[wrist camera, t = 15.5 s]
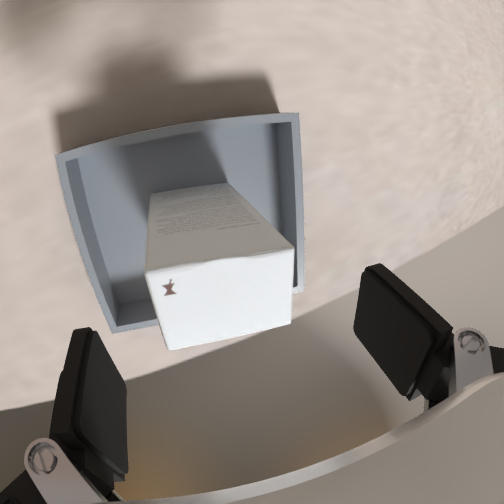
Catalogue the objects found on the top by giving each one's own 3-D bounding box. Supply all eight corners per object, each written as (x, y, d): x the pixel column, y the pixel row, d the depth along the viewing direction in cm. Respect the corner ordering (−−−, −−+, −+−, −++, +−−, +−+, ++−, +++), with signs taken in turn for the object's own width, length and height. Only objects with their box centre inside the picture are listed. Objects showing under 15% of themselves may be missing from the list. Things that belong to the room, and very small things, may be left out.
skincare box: (158, 245, 23) (163, 354, 12) (149, 192, 21) (139, 269, 10) (234, 233, 24) (294, 326, 14) (230, 180, 22) (296, 243, 12)
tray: (279, 112, 21) (298, 112, 18) (288, 271, 28) (304, 290, 25) (70, 149, 18) (55, 155, 15) (115, 308, 24) (112, 333, 21)
